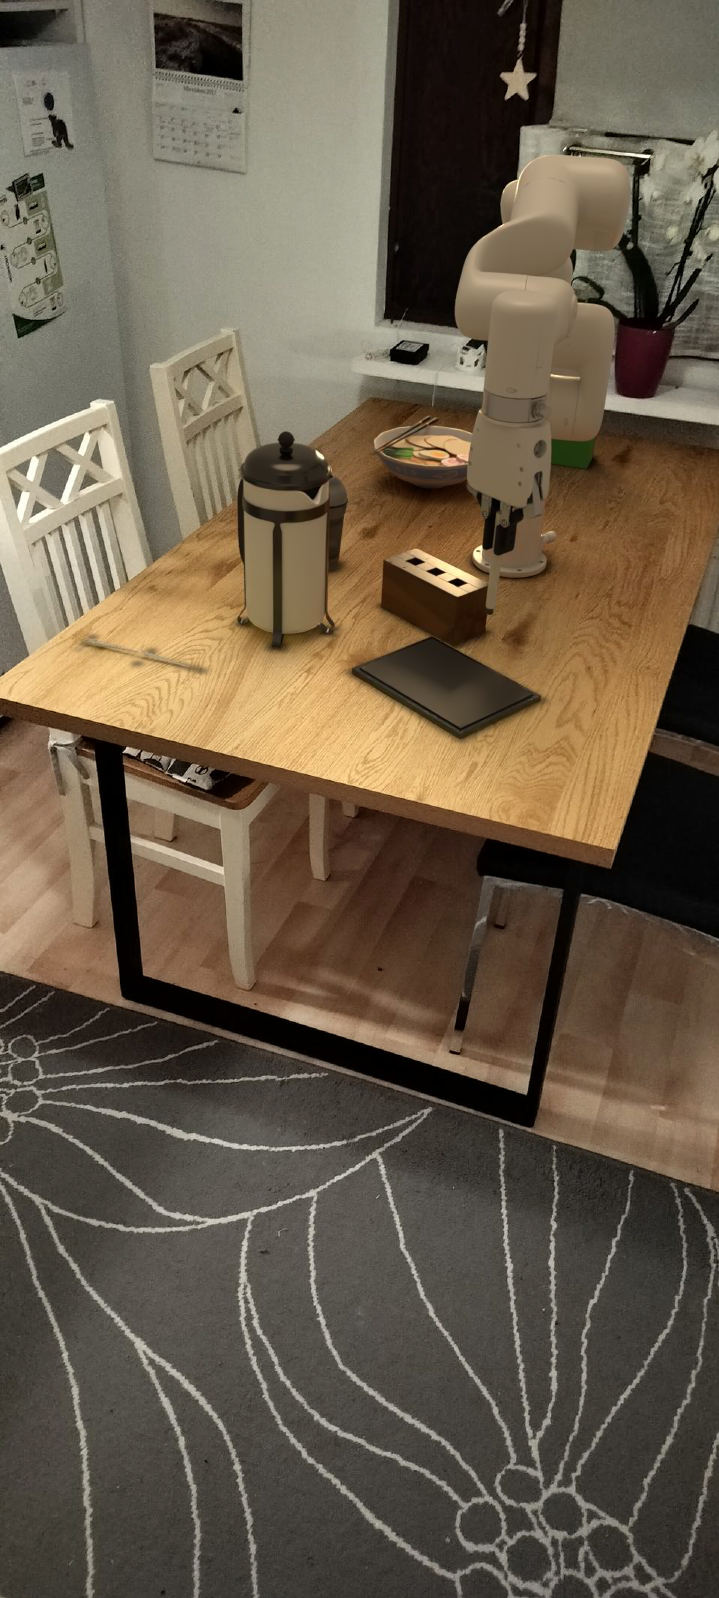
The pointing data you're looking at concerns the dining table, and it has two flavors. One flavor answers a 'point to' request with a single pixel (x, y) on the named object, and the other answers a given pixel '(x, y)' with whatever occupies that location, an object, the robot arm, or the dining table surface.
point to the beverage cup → (336, 518)
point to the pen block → (434, 596)
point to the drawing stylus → (493, 573)
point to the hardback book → (571, 450)
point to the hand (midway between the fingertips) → (497, 548)
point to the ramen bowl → (425, 453)
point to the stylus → (99, 643)
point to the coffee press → (285, 537)
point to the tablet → (446, 686)
